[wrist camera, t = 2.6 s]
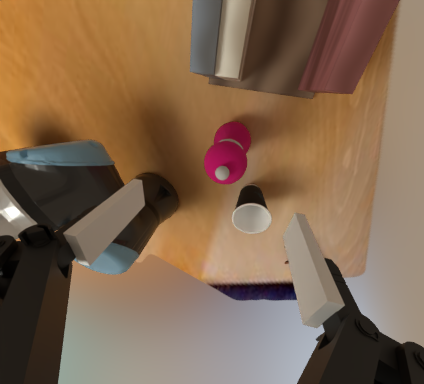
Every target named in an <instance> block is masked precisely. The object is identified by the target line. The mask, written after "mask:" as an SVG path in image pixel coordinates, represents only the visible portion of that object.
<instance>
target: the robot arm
mask: <svg viewBox="0 0 424 384" xmlns="http://www.w3.org/2000/svg"><path fill="white" fill-rule="evenodd" d="M6 156H7V158H6V159H7V160H8V161H10V163H7V164H3V165H0V384H58V378H59V370H60V362H61V354H62V346H63V338H64V329H65V322H66V314H67V306H68V298H69V290H70V282H71V274H72V261H73V260H75V261H76V262H78V263H79V264H81V265H83V266H85V267H87V268H89V269H91V270H94V271H97V272H101V273H105V274H121V273H123V272H125V271H127V270H128V269H129V268H130V267H131V265H132V264H133V263H134V261H135V260H136V259H137V258H138V257H139V255H140V254H141V252H142V250H143V249H144V247H145V246H146V244H147V243H148V241H149V239H150V238H151V236H152V235H153V233H154V232H155V230H156V228H157V227H158V225H160V224H161V223H162V222H164V221H165V220H166V219H168V218H170V217H171V216H172V215H173V214H174V212H175V210H176V209H177V207H178V196H177V193H176V191H175V189H174V188H173V186H172V185H171V184H170V183H169V182H168V181H166V180H165V179H164V178H162V177H160V176H158V175H155V174H149V173H145V174H140V175H138V176H136V177H135V178H134V179H132V180H131V181H130V182H129V183H127V184H126V185H124V183H123V181H122V179H121V177H120V175H119V173H118V171H117V169H116V167H115V165H114V164H115V163H114V161H112V160H111V158H110V156H109V155H108V153H107V151H106V150H105V148H104V146H103V145H102V144H101V143H99V142H98V141H95V140H79V141H71V142H64V143H56V144H49V145H42V146H36V147H30V148H24V149H17V150H11V151H8V152H7V153H6ZM56 230H58V231H56ZM55 231H56V232H55ZM18 238H20V240H21V241H16V239H18ZM283 239H284V244H285V248H286V253H287V257H288V261H289V266H290V270H291V275H292V279H293V283H294V288H295V292H296V297H297V301H298V305H299V310H300V314H301V318H302V323H303V325H307V326H310V327H314V328H318V327H319V326H320V325H322V324H323V327H324V330H325V332H324V333H323V334H321V335H320V336H319V337H318V338H317V339H316V340H317V341H319V342H318V344H317V346H316V348H315V350H314V351H313V353H312V355H311V358H310V359H309V361H308V363H307V365H306V367H305V369H304V371H303V373H302V375H301V377H300V379H299V381H298V383H297V384H424V348H423V347H422V346H420V345H418V344H416V343H414V342H406V343H403V344H400V343H399V342H397V341H395V340H393V339H391V338H389V337H388V336H386V335H384V334H382V333H381V332H379V330H378V328H377V327H376V326H375V324H374V323H373V322H372V321H370V319H368V318H367V317H366V316H364V315H362V314H361V312H360V310H359V308H358V306H357V304H356V302H355V300H354V299H353V296H352V295H351V292H350V290H349V288H348V286H347V285H346V282H345V280H344V278H343V277H342V274H341V272H340V270H339V268H338V267H337V266H336V265H335V263H334V262H333V261H332V260H331V259H326V258H324V257H323V255H322V253H321V250H320V248H319V246H318V243H317V241H316V239H315V237H314V234H313V232H312V230H311V228H310V225H309V223H308V221H307V219H306V216H305V215H304V214H299V213H294V215H293V217H292V219H291V221H290V223H289V225H288V227H287V229H286V231H285V233H284V235H283Z"/></svg>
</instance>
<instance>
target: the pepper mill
mask: <svg viewBox="0 0 424 384" xmlns="http://www.w3.org/2000/svg"><path fill="white" fill-rule="evenodd" d="M250 144H251V137H250V133H249V131H248V130H247V128H246V127H245V126H244V125H243V124H241V123H239V122H229V123H226V124H224V125H222V126H221V127H220V128H219V129H218V131H217V132H216V135H215V138H214V145H213V146H211V147H210V149H209V150H208V151H207V153H206V155H205V159H204V167H205V170H206V173H207V175H208V176H209V177H210V178H211V179H212V180H213V181H215V182H217V183H220V184H232V183H234V182H236V181H238V180H239V179H240V178H241V177H242V176H243V174H244V173H245V171H246V168H247V157H246V153H247V152H248V150H249V147H250Z"/></svg>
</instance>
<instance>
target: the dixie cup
mask: <svg viewBox="0 0 424 384" xmlns="http://www.w3.org/2000/svg"><path fill="white" fill-rule="evenodd" d="M232 221H233V224H234V225H235V227H236V228H237V229H239V230H240V231H242V232H245V233H250V234H255V233H260V232H263V231H265V230H266V229H267V228H268V227H269V226H270V224H271V222H272V216H271V214H270V212H269V211H268V209H267V206H266V203H265V200H264V197H263V194H262V191H261V189H260V188H259V187H258V186H257V185H254V184H248V185H245V186H244V187H243V188H242V190H241V191H240V195H239V198H238V202H237V205H236V208H235V210H234V212H233V214H232Z"/></svg>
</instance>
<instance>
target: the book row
mask: <svg viewBox="0 0 424 384" xmlns="http://www.w3.org/2000/svg"><path fill="white" fill-rule="evenodd" d="M399 1H400V0H193V6H192V31H191V56H190V72H193V73H196V74H200V75H203V76H206V77H209V84H213V85H220V86H226V87H233V88H240V89H247V90H254V91H261V92H268V93H274V94H281V95H288V96H295V97H302V98H309V99H313V96H314V94H315V93H339V94H353V92H354V90H355V88H356V86H357V84H358V82H359V80H360V78H361V76H362V74H363V72H364V70H365V68H366V66H367V64H368V62H369V60H370V58H371V56H372V54H373V52H374V50H375V48H376V46H377V44H378V42H379V40H380V38H381V36H382V34H383V32H384V30H385V28H386V26H387V24H388V22H389V20H390V19H391V17H392V15H393V13H394V11H395V9H396V7H397V5H398V3H399Z"/></svg>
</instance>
